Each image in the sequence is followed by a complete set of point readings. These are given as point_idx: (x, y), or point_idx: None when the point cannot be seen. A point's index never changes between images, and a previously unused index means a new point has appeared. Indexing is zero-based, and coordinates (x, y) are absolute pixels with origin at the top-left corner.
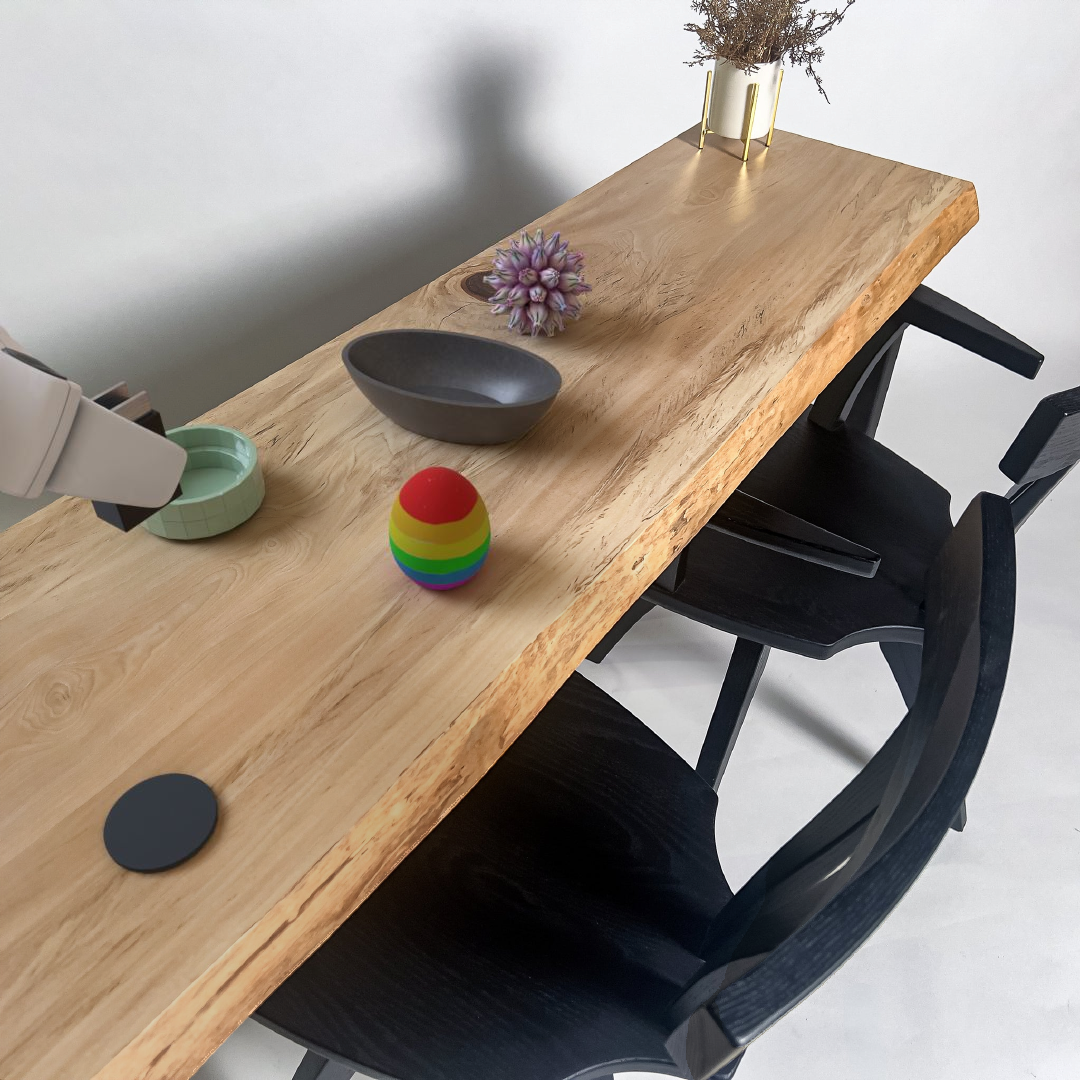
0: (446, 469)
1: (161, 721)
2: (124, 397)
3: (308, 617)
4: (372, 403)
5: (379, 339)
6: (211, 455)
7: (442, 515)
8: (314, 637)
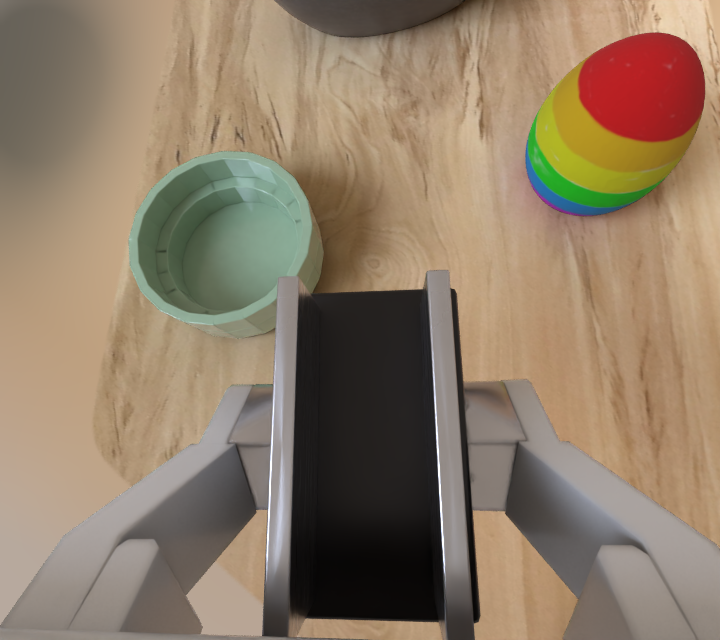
0: (663, 35)
1: (498, 558)
2: (313, 322)
3: (507, 327)
4: (315, 21)
5: None
6: (208, 200)
7: (694, 114)
8: (539, 347)
